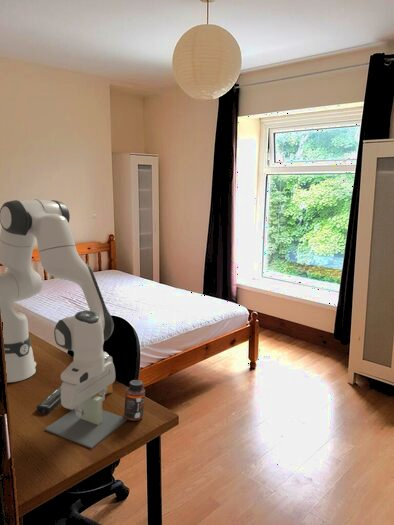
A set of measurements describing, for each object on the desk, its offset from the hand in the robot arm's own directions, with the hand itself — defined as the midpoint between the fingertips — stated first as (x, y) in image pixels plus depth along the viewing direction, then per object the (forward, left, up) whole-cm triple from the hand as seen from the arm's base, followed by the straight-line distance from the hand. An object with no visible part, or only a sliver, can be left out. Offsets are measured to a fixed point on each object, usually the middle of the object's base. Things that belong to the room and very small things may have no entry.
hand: (90, 407), depth 126 cm
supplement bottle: (+10, +8, -4) cm, 14 cm away
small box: (-10, +15, -5) cm, 19 cm away
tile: (0, 0, -4) cm, 4 cm away
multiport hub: (-18, +3, -5) cm, 19 cm away
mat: (0, -2, -5) cm, 5 cm away
